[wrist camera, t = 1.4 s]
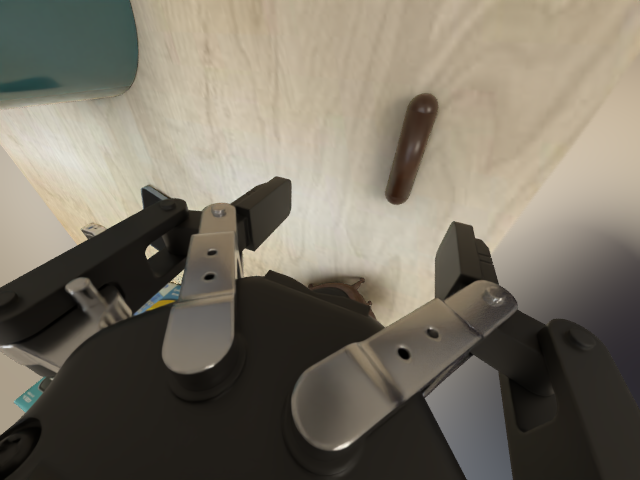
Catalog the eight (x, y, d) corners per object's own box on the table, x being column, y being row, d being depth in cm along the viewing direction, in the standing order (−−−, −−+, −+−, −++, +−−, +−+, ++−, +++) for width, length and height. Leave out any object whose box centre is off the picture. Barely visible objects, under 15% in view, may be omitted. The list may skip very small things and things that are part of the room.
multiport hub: (116, 259, 60) (107, 265, 58) (91, 222, 53) (79, 228, 52) (128, 264, 59) (119, 270, 57) (104, 226, 52) (92, 232, 50)
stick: (407, 90, 18) (419, 94, 17) (434, 92, 19) (448, 97, 17) (380, 197, 24) (386, 208, 22) (401, 197, 24) (409, 209, 23)
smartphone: (147, 242, 47) (139, 184, 37) (151, 240, 48) (145, 182, 37) (178, 263, 47) (180, 211, 37) (182, 261, 48) (185, 208, 38)
